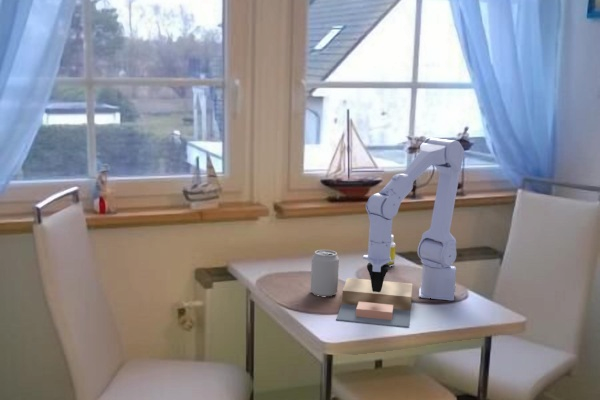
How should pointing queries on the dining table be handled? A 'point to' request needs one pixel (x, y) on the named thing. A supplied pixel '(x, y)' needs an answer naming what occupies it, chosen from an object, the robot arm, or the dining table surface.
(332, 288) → the can
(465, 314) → the dining table surface
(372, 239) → the robot arm
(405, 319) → the mat
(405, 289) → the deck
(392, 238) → the supplement bottle
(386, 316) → the pink rectangular block
